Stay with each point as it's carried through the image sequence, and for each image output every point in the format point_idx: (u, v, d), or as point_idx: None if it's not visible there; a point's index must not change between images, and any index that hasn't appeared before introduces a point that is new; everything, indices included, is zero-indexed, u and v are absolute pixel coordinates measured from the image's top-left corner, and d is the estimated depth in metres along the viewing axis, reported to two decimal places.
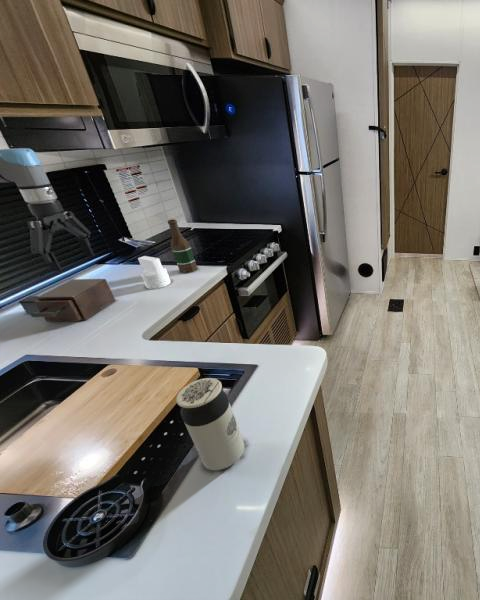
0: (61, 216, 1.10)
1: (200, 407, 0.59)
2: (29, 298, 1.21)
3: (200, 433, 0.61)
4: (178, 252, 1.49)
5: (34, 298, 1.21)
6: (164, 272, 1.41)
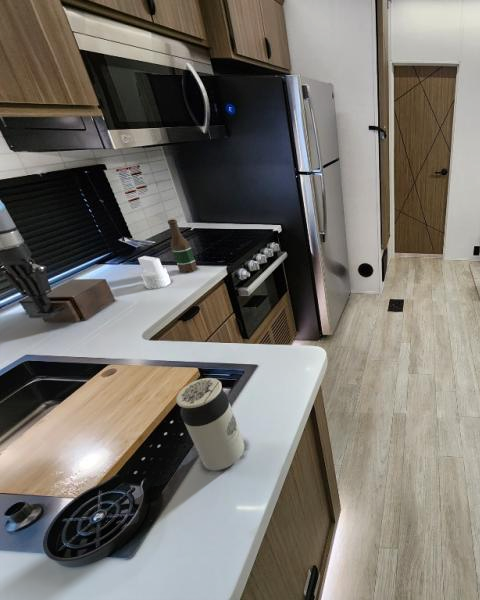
0: None
1: (200, 407, 0.59)
2: (29, 298, 1.21)
3: (199, 433, 0.61)
4: (178, 252, 1.49)
5: None
6: (164, 272, 1.41)
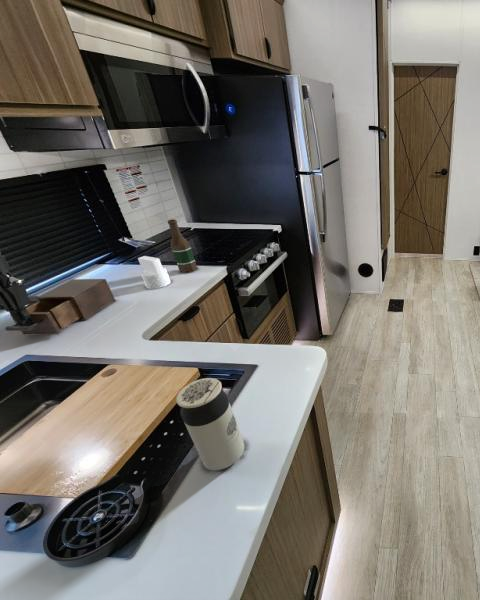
0: None
1: (200, 407, 0.59)
2: (29, 298, 1.21)
3: (199, 433, 0.61)
4: (178, 252, 1.49)
5: (34, 298, 1.21)
6: (164, 272, 1.41)
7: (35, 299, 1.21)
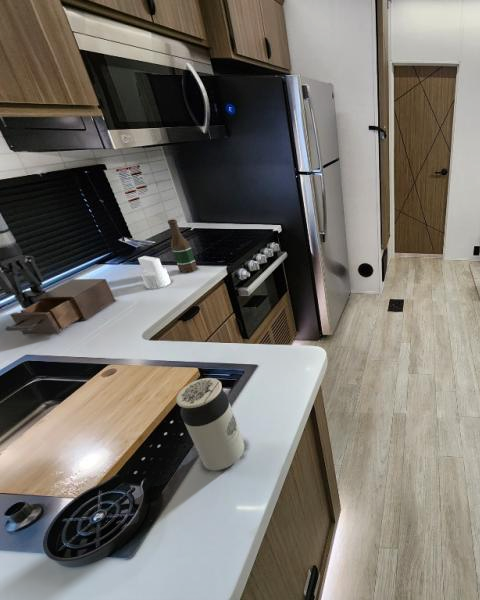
0: None
1: (200, 407, 0.59)
2: None
3: (199, 433, 0.61)
4: (178, 252, 1.49)
5: (30, 293, 1.20)
6: (164, 272, 1.41)
7: (31, 294, 1.20)
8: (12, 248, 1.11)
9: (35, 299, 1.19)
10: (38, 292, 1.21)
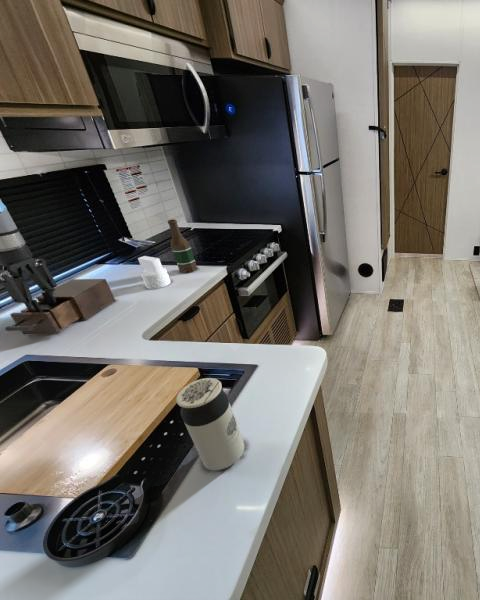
0: None
1: (200, 407, 0.59)
2: (41, 306, 1.10)
3: (199, 433, 0.61)
4: (178, 252, 1.49)
5: (46, 306, 1.10)
6: (164, 272, 1.41)
7: (47, 307, 1.10)
8: (21, 251, 1.00)
9: None
10: (55, 305, 1.11)
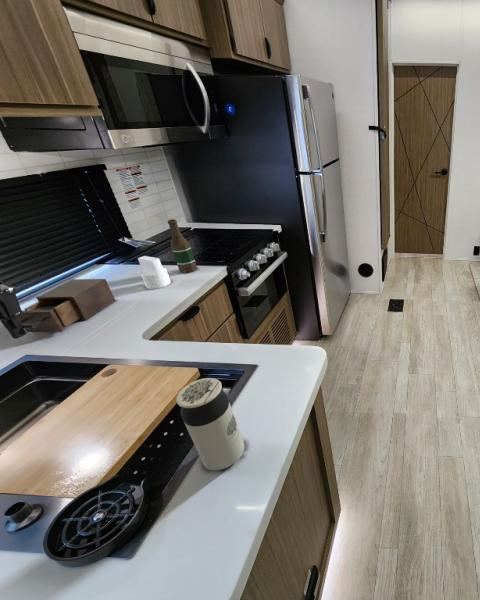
0: None
1: (200, 407, 0.59)
2: (45, 306, 1.12)
3: (199, 433, 0.61)
4: (178, 252, 1.49)
5: (50, 306, 1.12)
6: (164, 272, 1.41)
7: (51, 308, 1.11)
8: None
9: None
10: None
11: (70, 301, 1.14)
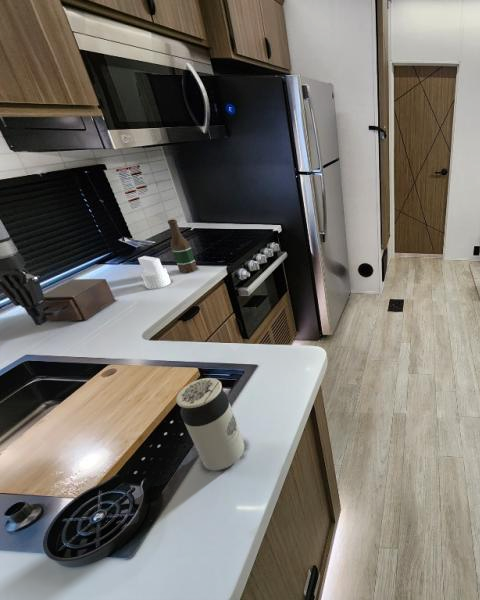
0: None
1: (200, 407, 0.59)
2: None
3: (199, 433, 0.61)
4: (178, 252, 1.49)
5: None
6: (164, 272, 1.41)
7: None
8: None
9: None
10: None
11: None
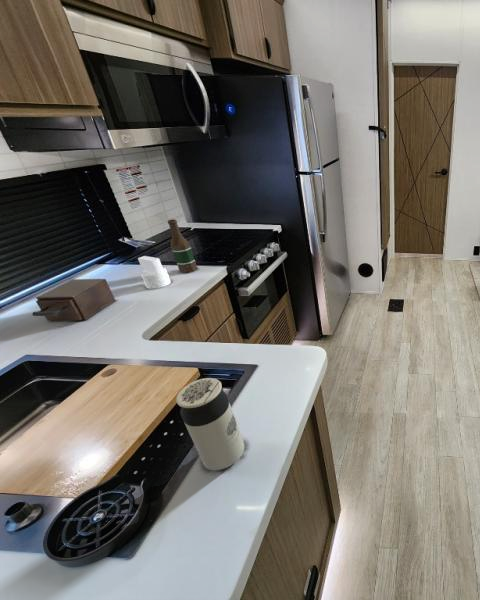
0: None
1: (200, 407, 0.59)
2: None
3: (199, 433, 0.61)
4: (178, 252, 1.49)
5: None
6: (164, 272, 1.41)
7: None
8: None
9: None
10: None
11: None
